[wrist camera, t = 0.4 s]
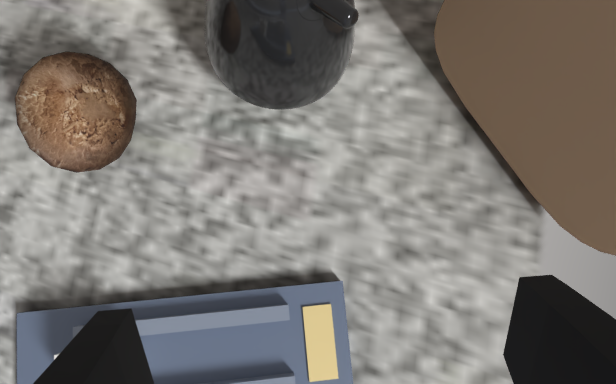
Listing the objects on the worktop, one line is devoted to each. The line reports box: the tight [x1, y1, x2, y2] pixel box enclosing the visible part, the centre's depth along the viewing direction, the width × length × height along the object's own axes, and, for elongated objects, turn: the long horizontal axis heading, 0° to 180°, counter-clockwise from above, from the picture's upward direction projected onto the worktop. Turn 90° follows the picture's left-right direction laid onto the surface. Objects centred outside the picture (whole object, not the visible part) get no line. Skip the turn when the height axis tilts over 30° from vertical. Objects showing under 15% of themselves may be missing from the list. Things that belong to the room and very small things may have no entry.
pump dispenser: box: [205, 0, 359, 109], centre depth 31 cm, size 10×10×15 cm
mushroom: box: [15, 52, 137, 172], centre depth 34 cm, size 8×8×6 cm
